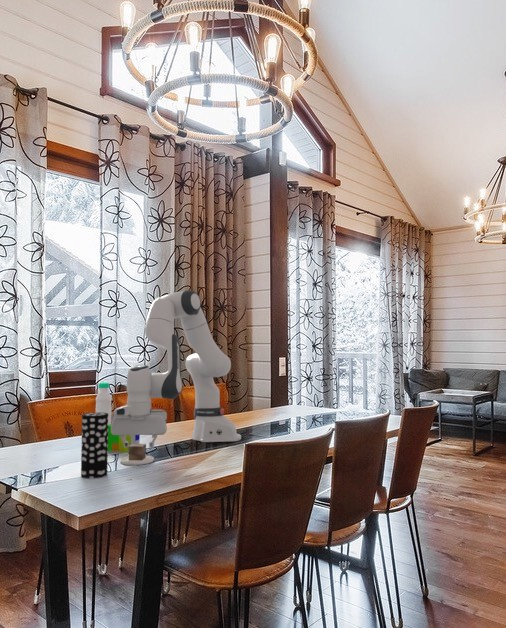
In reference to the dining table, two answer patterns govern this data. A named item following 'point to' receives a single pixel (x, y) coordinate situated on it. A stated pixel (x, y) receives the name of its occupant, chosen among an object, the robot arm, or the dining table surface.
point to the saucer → (137, 461)
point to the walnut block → (137, 451)
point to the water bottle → (104, 400)
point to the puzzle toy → (120, 441)
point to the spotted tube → (94, 445)
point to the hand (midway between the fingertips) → (139, 446)
